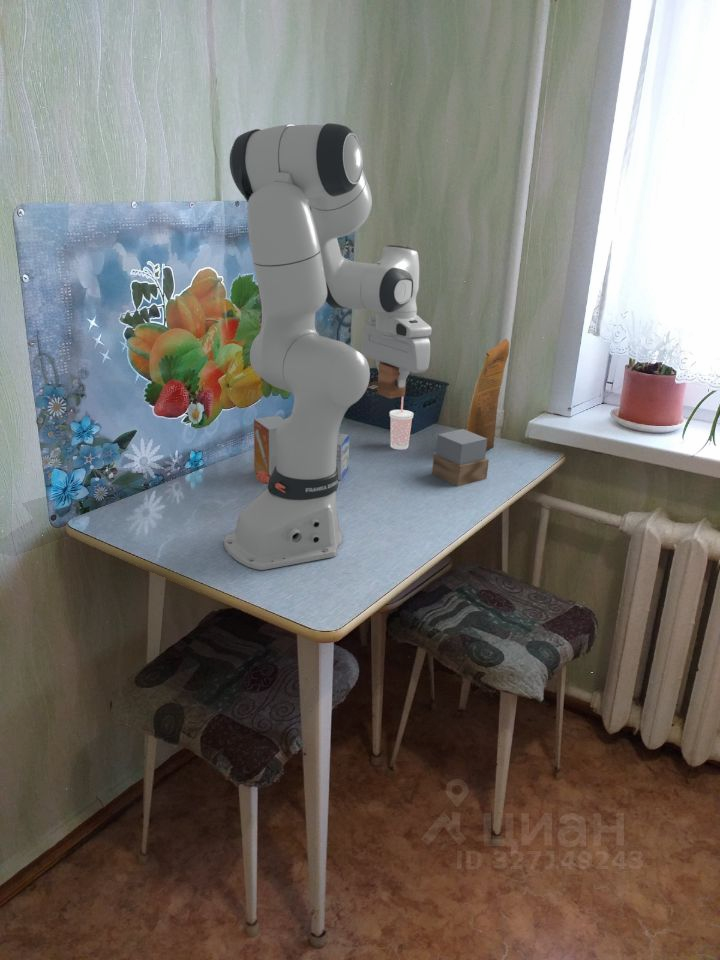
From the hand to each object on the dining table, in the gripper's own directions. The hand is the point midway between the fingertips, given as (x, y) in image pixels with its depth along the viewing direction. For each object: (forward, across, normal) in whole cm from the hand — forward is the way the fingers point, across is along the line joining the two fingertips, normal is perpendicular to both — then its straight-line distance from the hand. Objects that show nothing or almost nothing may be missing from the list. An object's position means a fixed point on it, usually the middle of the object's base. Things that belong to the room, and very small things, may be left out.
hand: (391, 383), depth 172 cm
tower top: (+16, +12, +12) cm, 24 cm away
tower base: (+21, +12, +13) cm, 27 cm away
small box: (+22, -10, -25) cm, 34 cm away
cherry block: (+3, 0, 0) cm, 3 cm away
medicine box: (+21, -4, -12) cm, 25 cm away
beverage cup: (+21, -11, +13) cm, 27 cm away
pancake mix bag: (+21, +2, +29) cm, 36 cm away
